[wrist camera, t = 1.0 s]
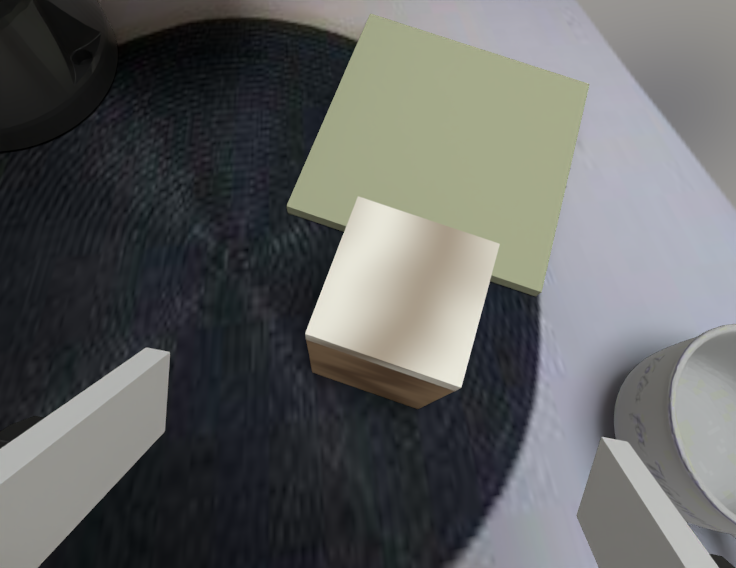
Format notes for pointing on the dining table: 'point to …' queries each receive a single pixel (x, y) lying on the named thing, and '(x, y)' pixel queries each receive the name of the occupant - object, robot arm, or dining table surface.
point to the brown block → (400, 305)
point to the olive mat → (448, 144)
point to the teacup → (687, 425)
